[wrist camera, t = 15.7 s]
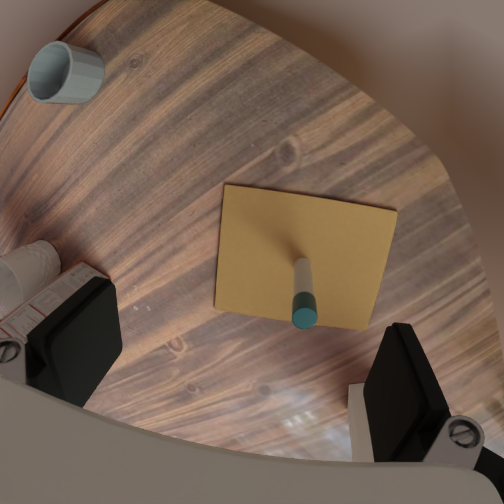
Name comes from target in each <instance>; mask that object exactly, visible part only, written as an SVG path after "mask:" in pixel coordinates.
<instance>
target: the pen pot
mask: <svg viewBox="0 0 504 504" xmlns="http://www.w3.org/2000/svg"><path fill="white" fill-rule="evenodd" d="M103 78H104V63H103V60H102V58H101V57H100V55H99V54H97V53H96V52H94V51H91V50H88V49H85V48H81V47H78V46H75V45H71V44H68V43H64V42H61V41H55V42H51V43H48V44H47V45H46V46H44V47H43V48H42V49H40V50H39V52H38V53H37V54H36V56H35V57H34V59H33V61H32V63H31V65H30V68H29V71H28V77H27V86H28V92H29V94H30V95H31V97H32V99H33V100H35V101H37V102H39V103H47V104H71V105H73V104H82V103H85V102H87V101H88V100H90V99H91V98H92V97H93V96H94V95H95V94H96V93H97V91H98V90H99V88H100V86H101V84H102V82H103Z"/></svg>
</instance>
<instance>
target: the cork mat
mask: <svg viewBox="0 0 504 504" xmlns="http://www.w3.org/2000/svg"><path fill="white" fill-rule="evenodd" d="M397 215H398V212H397V211H393V210H388V209H383V208H378V207H372V206H367V205H362V204H356V203H350V202H345V201H339V200H333V199H327V198H321V197H314V196H308V195H301V194H295V193H288V192H281V191H274V190H267V189H259V188H252V187H244V186H236V185H228V184H225V187H224V198H223V208H222V220H221V231H220V243H219V255H218V268H217V282H216V295H215V309H216V310H222V311H227V312H233V313H239V314H245V315H251V316H258V317H264V318H270V319H277V320H284V321H291V322H292V300H293V296H294V264H295V261H296V260H297V259H299V258H307V259H308V260H309V261H310V262H311V267H312V276H313V286H314V296H315V299H316V305H317V315H318V319H317V322H316V324H315V325H320V326H328V327H336V328H344V329H352V330H361V331H366V330H367V327H368V324H369V320H370V317H371V314H372V311H373V308H374V304H375V301H376V298H377V294H378V291H379V287H380V284H381V280H382V277H383V273H384V269H385V266H386V262H387V258H388V254H389V250H390V246H391V242H392V238H393V233H394V229H395V225H396V220H397Z"/></svg>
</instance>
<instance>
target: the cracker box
mask: <svg viewBox="0 0 504 504" xmlns="http://www.w3.org/2000/svg"><path fill="white" fill-rule="evenodd" d="M94 276H98V277H103V278H108V279H110V278H109V277H107V276H106V275H104V274H102V273H101V272H99V271H98V270H96V269H94V268H93V267H91V266H89V265H88V264H86V263H85V262H83V261H80V262H79V263H77V264H76V265H74V266H73V267H71V268H70V269H69V270H67V271H66V272H64V273H63V274H61V275H60V276H58V277H57V278H56V279H54V280H53V281H51V282H50V283H49V284H47V285H46V286H44V287H43V288H42V289H40V290H39V291H38V292H36V293H35V294H33V295H32V296H31V297H29V298H28V299H27V300H25V301H24V302H23V303H21V304H20V305H19V306H17V307H16V308H15V309H14V310H12V311H11V312H10V313H8V314H7V315H6V316H4V317H3V318H2V319H1V320H0V339H3V338H7V337H13V338H18V339H20V340H21V341H22V342H23V343H24V344H26V343H27V342H28V340H27V337H26V335H27V334H28V333H29V332H30V331H31V330H32V329H33V328H35V327H36V326H37V325H38V324H39V323H40V322H41V321H42V320H43V319H45V318H46V317H47V316H48V315H49V314H50V313H51V312H53V311H54V310H55V309H56V308H57V307H58V306H59V305H61V304H62V303H63V302H64V301H65V300H66V299H68V298H69V297H70V296H71V295H72V294H73V293H75V292H76V291H77V290H78V289H79V288H81V287H82V286H83V285H84V284H85V283H87V282H88V281H89V280H90V279H91V278H93V277H94ZM110 280H111V279H110Z"/></svg>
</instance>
